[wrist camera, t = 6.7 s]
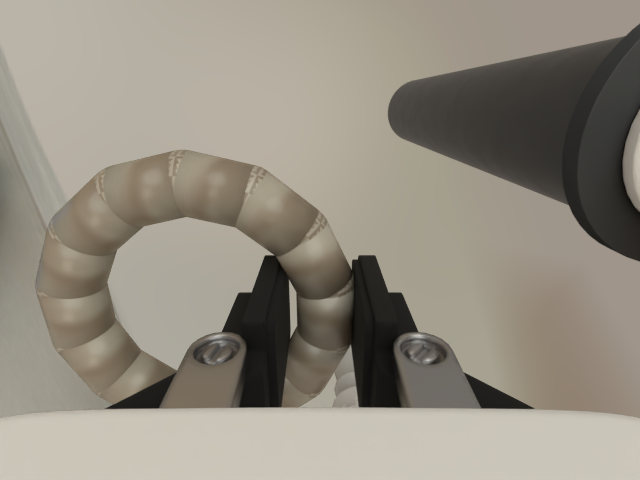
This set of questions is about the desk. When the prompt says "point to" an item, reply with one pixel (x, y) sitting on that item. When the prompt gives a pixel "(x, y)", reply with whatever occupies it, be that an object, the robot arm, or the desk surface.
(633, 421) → the robot arm
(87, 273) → the segmented ring
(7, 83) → the desk surface
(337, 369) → the rook chess piece
